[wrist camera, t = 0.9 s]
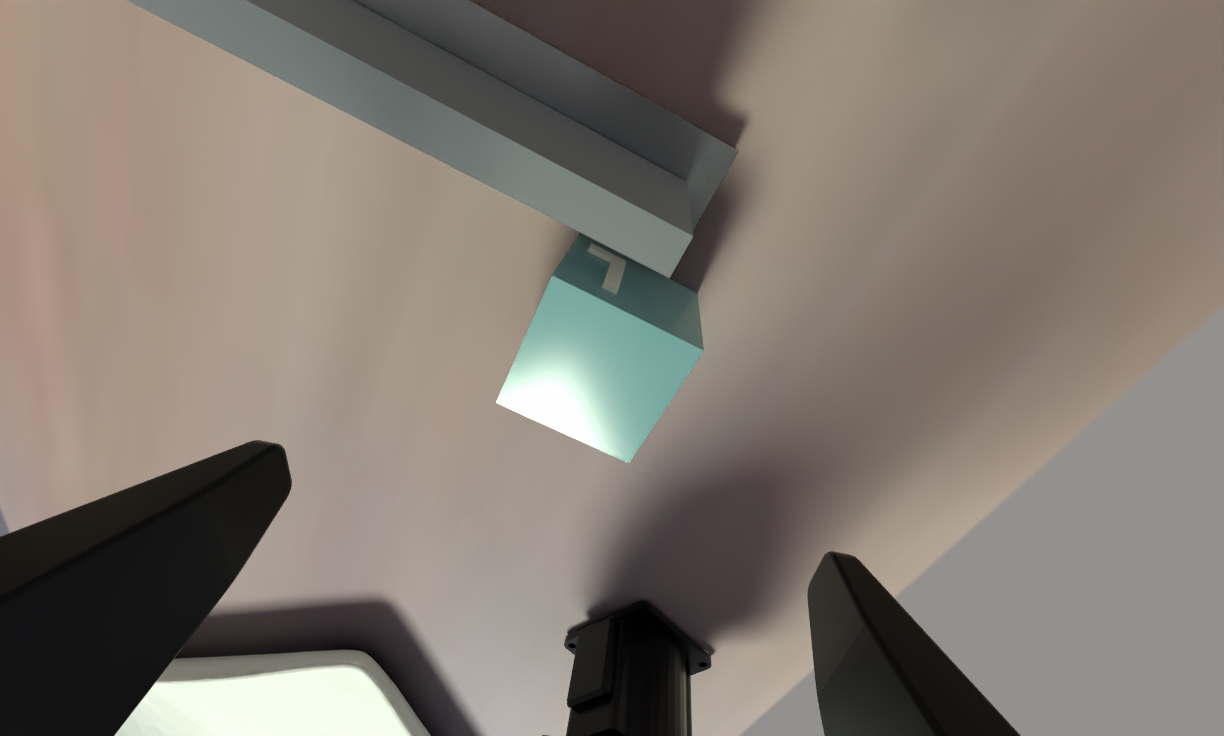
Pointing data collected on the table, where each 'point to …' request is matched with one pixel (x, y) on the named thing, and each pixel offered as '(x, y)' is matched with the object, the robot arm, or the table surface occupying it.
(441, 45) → the rail
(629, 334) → the cube
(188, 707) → the square plate
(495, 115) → the screen
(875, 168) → the table surface
